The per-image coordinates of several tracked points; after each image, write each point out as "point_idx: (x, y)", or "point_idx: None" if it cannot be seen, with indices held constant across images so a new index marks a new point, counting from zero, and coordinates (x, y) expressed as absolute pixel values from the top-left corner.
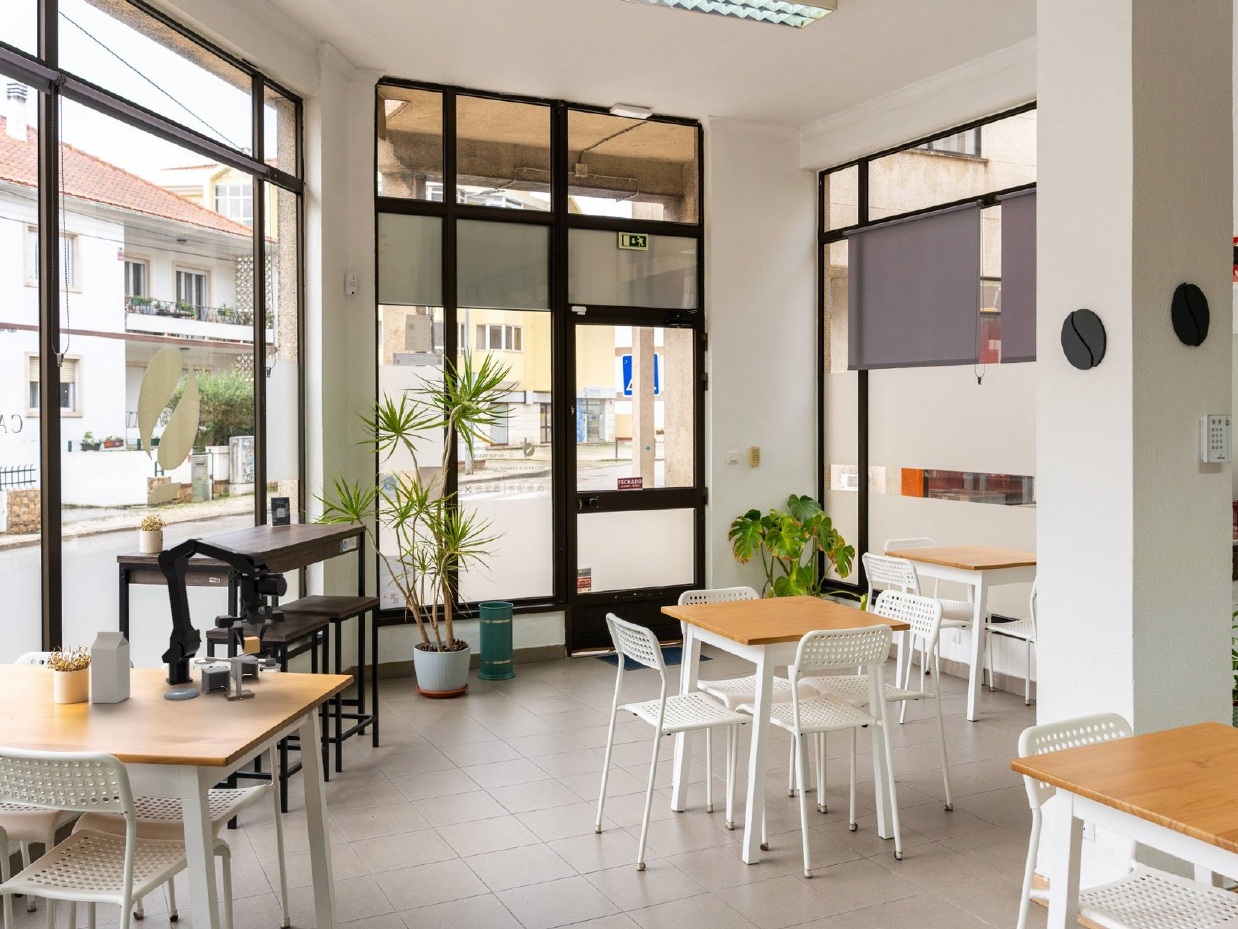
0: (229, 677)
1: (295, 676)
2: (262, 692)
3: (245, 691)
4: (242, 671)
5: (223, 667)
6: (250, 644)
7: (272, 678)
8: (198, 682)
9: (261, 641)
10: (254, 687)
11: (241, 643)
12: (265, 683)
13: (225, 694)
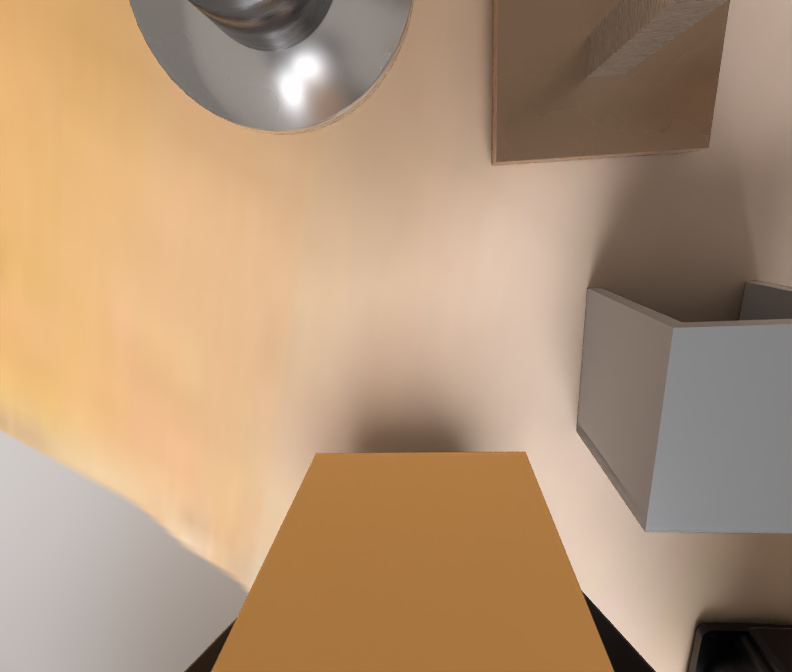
0: (645, 309)
1: (142, 444)
2: (402, 117)
3: (543, 85)
4: None
5: (684, 477)
6: (461, 567)
7: (273, 468)
8: (674, 596)
9: (209, 646)
10: (418, 303)
11: (650, 668)
12: (332, 372)
13: (720, 62)
